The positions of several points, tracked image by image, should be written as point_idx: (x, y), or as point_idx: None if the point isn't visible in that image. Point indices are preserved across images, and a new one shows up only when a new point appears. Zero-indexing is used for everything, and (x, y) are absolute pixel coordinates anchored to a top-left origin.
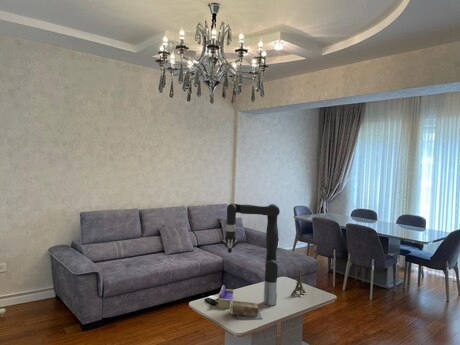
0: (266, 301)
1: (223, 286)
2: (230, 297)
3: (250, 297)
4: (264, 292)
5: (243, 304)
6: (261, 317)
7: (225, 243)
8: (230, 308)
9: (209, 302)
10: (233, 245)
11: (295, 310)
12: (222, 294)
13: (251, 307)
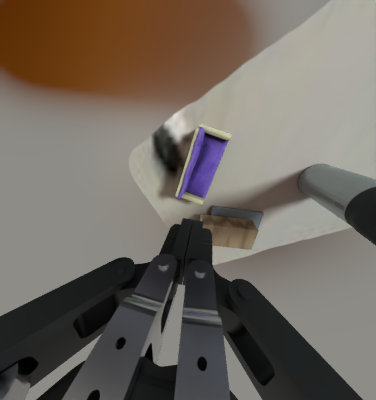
0: (304, 192)
1: (195, 142)
2: (211, 174)
3: (283, 133)
4: (316, 191)
5: (223, 239)
6: None
7: (68, 335)
8: (200, 215)
9: (163, 159)
10: (233, 350)
11: None
12: (185, 188)
13: (236, 247)
